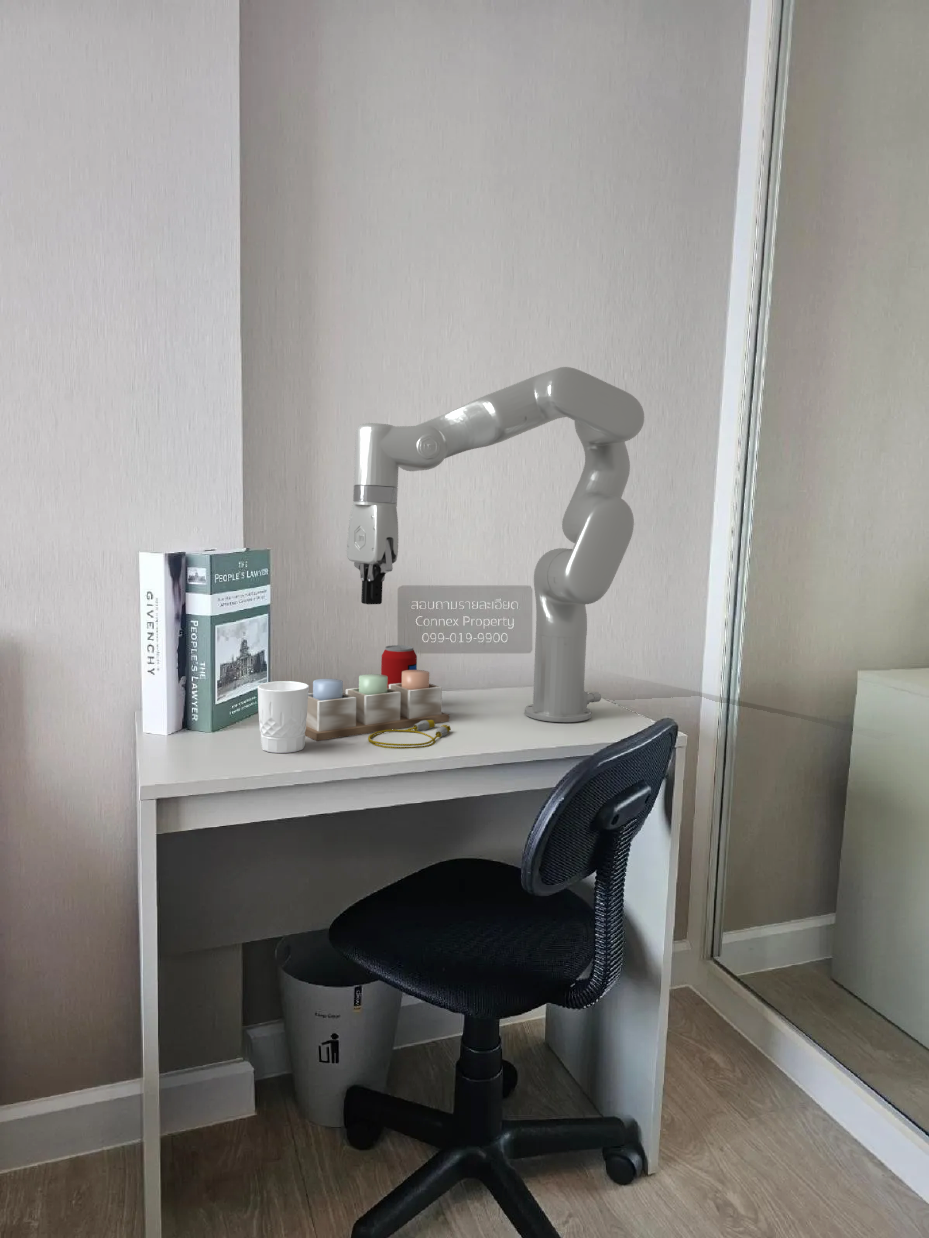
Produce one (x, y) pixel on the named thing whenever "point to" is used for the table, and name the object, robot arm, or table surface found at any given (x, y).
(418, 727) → the extension cord
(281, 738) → the white cup
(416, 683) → the pink rounded cylinder
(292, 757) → the table surface
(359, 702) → the button board
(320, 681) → the slate blue cap
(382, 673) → the beverage can
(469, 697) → the table surface
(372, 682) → the sage green cap
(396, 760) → the table surface
